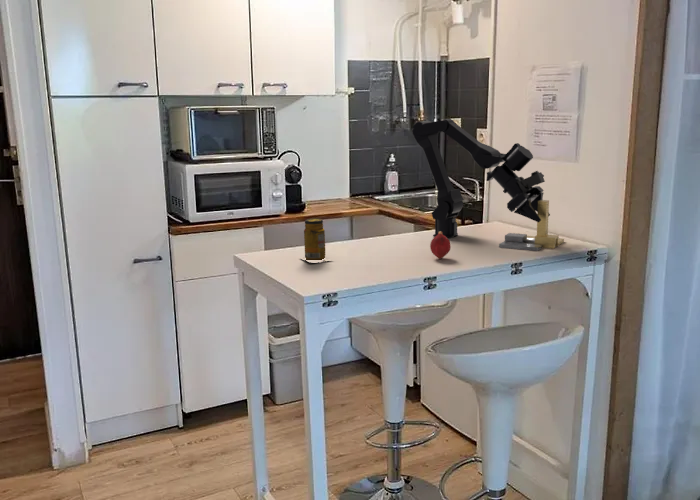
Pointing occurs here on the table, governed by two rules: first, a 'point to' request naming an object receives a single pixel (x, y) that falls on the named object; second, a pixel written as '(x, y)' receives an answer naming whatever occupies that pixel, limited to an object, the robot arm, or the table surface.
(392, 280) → the table surface
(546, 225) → the brass block assembly
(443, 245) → the onion
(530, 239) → the fixed leaf
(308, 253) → the condiment
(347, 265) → the table surface
